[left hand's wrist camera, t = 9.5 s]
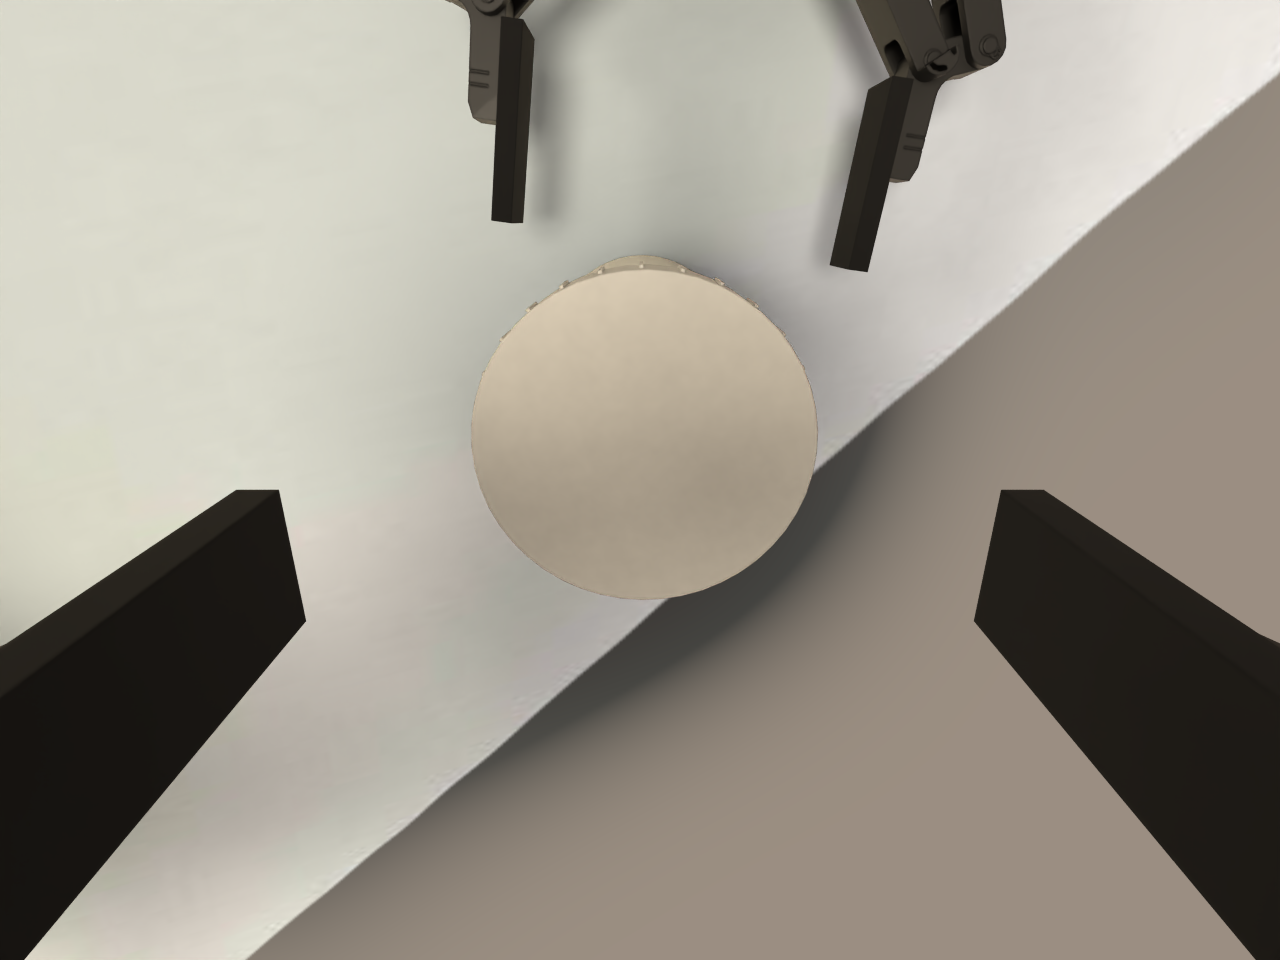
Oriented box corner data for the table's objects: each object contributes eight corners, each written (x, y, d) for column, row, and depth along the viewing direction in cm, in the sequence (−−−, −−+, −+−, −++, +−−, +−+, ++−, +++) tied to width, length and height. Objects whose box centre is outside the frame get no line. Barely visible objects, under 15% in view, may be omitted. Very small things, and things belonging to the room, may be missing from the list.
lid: (431, 479, 21) (411, 504, 19) (583, 192, 18) (576, 188, 16) (691, 616, 23) (696, 652, 21) (868, 375, 20) (892, 391, 18)
